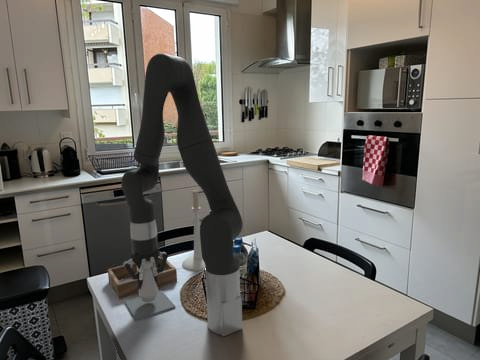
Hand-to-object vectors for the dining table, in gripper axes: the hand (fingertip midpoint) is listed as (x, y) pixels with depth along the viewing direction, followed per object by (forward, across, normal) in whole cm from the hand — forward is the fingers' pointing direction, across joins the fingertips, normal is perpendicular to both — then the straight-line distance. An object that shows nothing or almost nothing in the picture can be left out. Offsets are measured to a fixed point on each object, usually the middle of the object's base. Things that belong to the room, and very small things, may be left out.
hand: (148, 287), depth 107 cm
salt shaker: (+4, 0, 0) cm, 4 cm away
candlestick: (+6, +26, +18) cm, 32 cm away
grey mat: (+6, 0, 0) cm, 6 cm away
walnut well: (+6, +3, +16) cm, 17 cm away
